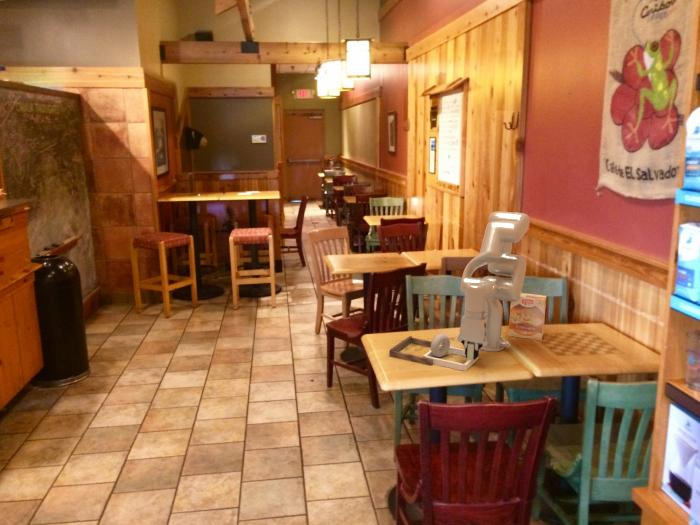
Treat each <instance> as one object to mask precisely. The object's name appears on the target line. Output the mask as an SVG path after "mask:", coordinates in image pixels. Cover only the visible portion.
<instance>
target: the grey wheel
mask: <svg viewBox="0 0 700 525" xmlns="http://www.w3.org/2000/svg"><path fill="white" fill-rule="evenodd" d="M431 341H432V343H431V347H430V350H431V352H432V354H433V355H434V356H433V357H434V358H442V357H444V356H445V355H447V353H448V350H449V347H451V340H450V337H449V336H448V335H446V334H445V333H441V334H440V333H439V334H437V335H436V336H435V337H434V338H433V339H432V340H431ZM440 343H442V346H441V348H440V349H439V345H440Z"/></svg>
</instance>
